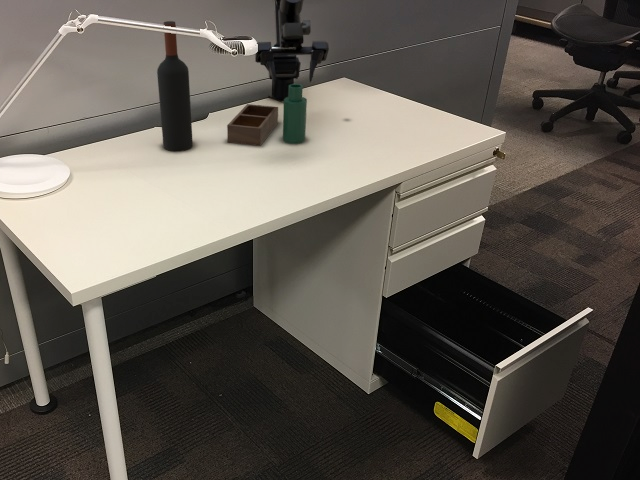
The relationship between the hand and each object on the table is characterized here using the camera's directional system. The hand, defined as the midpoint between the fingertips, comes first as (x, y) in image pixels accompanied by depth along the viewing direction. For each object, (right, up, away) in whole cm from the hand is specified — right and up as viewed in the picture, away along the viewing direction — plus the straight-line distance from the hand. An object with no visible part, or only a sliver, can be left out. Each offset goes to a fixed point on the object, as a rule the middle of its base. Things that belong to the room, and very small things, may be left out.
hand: (292, 81), depth 172 cm
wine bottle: (-30, -17, 0) cm, 34 cm away
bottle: (0, -15, +2) cm, 15 cm away
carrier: (-10, -11, +7) cm, 17 cm away
